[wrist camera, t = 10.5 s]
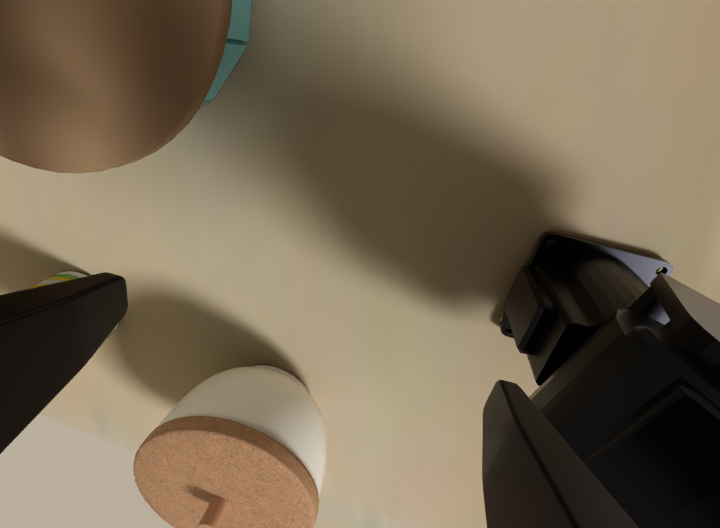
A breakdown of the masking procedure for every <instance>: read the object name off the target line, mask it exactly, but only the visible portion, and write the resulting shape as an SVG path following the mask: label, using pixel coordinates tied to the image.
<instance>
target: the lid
mask: <svg viewBox="0 0 720 528" xmlns="http://www.w3.org/2000/svg"><path fill="white" fill-rule="evenodd" d="M231 11H232V0H0V156H3V157H5V158H7V159H9V160H12V161H15V162H18V163H21V164H24V165H27V166H30V167H33V168H37V169H43V170H48V171H53V172H61V173H89V172H98V171H104V170H107V169H111V168H115V167H118V166H122V165H125V164H128V163H131V162H135V161H137V160H139V159H141V158H143V157H146V156H148V155H150V154H152V153H154V152H156V151H157V150H158V149H160V148H161V147H163V146H164V145H165V144H167V143H168V142H170V141H171V140H172V139H173V138H174V137H175V136H176V135H177V134H178V133H179V132H180V131H181V130H182V129H183V128H184V127H185V126H186V125H187V124H188V123H189V122H190V120H191V119H192V118H193V116H194V115H195V113H196V112H197V111H198V109H199V108H200V106H201V105H202V103H203V102H204V100H205V98H206V96H207V94H208V92H209V90H210V88H211V86H212V84H213V82H214V80H215V77H216V74H217V71H218V68H219V65H220V62H221V59H222V57H223V54H224V50H225V45H226V40H227V35H228V31H229V26H230V21H231Z"/></svg>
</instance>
